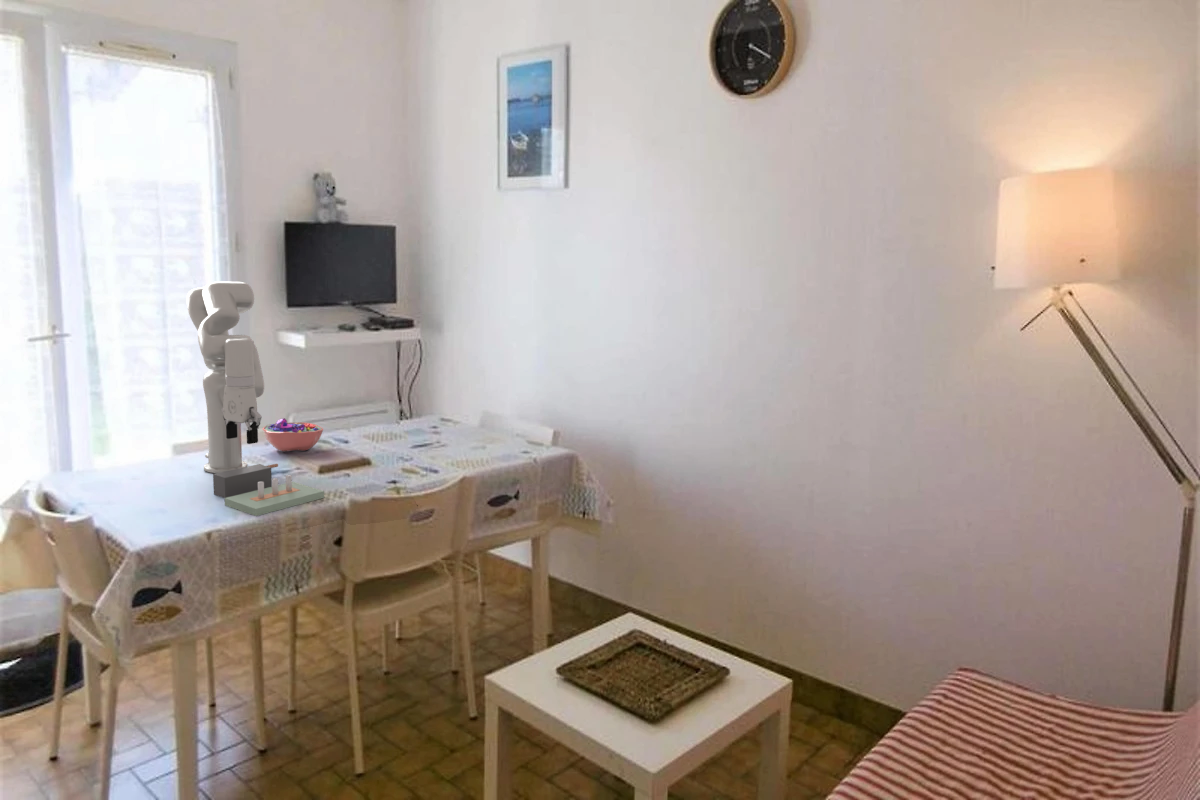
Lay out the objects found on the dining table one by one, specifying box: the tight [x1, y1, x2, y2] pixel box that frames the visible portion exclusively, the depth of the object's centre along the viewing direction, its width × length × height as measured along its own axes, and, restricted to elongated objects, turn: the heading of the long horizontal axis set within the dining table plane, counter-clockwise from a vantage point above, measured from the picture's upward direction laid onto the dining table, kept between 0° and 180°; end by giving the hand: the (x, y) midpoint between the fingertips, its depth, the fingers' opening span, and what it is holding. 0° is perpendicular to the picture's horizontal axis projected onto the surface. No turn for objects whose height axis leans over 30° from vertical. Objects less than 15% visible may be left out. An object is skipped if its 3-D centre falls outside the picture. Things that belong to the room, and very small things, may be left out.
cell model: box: [262, 417, 324, 452], centre depth 293 cm, size 17×20×11 cm
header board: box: [224, 474, 325, 517], centre depth 239 cm, size 14×22×6 cm, turn 146°
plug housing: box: [212, 463, 279, 499], centre depth 248 cm, size 6×19×6 cm, turn 146°
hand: (242, 440), depth 244 cm, fingers open, 9 cm apart
